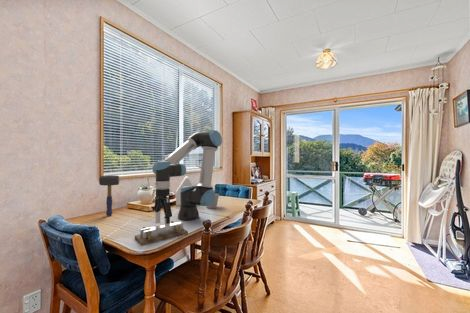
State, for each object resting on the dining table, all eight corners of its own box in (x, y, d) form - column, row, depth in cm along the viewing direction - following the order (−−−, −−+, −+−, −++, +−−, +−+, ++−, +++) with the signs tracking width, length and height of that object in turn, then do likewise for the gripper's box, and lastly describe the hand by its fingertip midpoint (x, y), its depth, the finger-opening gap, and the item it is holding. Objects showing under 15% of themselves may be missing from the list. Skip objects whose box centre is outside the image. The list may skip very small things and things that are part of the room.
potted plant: (210, 205, 199) (211, 183, 199) (221, 207, 190) (222, 184, 190) (200, 207, 189) (200, 184, 189) (211, 210, 180) (211, 186, 180)
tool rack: (179, 228, 135) (179, 219, 135) (187, 233, 126) (188, 224, 126) (134, 238, 118) (134, 228, 118) (141, 245, 109) (141, 234, 109)
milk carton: (175, 205, 195) (176, 178, 195) (176, 202, 210) (176, 176, 210) (197, 204, 200) (197, 177, 200) (196, 201, 215) (196, 176, 215)
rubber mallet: (119, 213, 166) (119, 174, 166) (117, 216, 159) (118, 175, 159) (100, 215, 162) (101, 175, 162) (98, 217, 155) (98, 176, 155)
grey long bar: (179, 227, 132) (179, 221, 132) (184, 230, 128) (184, 223, 128) (140, 236, 117) (140, 229, 117) (143, 239, 113) (143, 232, 113)
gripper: (148, 186, 129) (148, 221, 129) (165, 192, 110) (164, 233, 110) (160, 185, 134) (160, 219, 134) (178, 190, 115) (178, 230, 115)
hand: (162, 226), depth 122 cm, fingers open, 13 cm apart
